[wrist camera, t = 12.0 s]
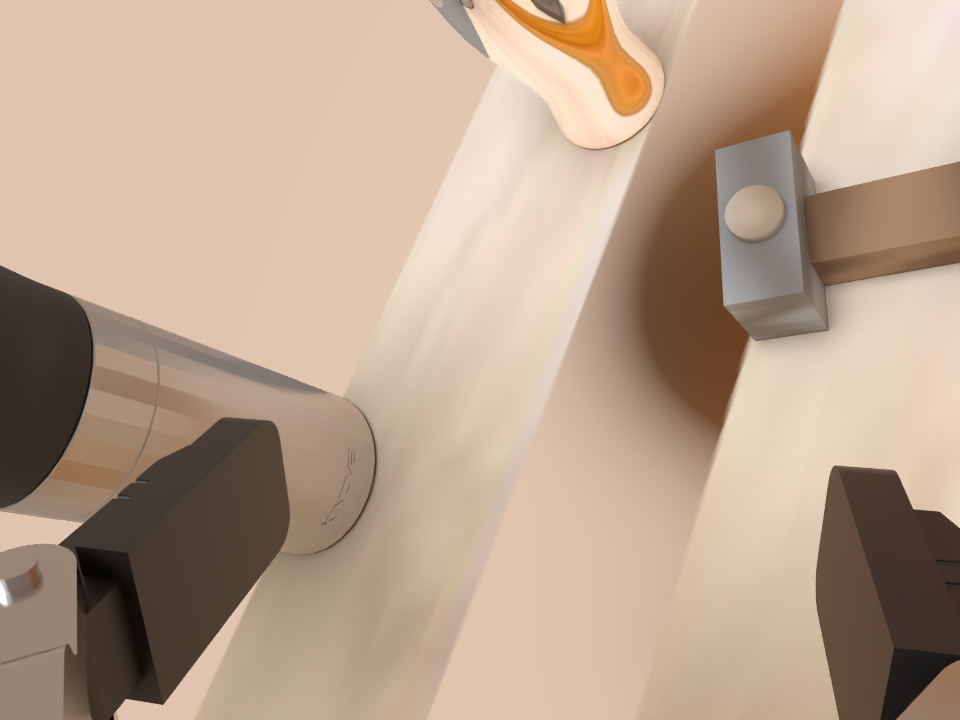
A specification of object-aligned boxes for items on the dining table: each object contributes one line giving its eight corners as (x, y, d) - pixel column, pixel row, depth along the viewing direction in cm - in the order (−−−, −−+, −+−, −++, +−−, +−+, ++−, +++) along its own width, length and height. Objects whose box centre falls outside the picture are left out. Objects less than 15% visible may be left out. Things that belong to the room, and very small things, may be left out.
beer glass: (693, 41, 43) (558, -200, 31) (645, 165, 42) (487, -32, 30) (579, 37, 47) (421, -176, 35) (533, 150, 46) (357, -28, 35)
